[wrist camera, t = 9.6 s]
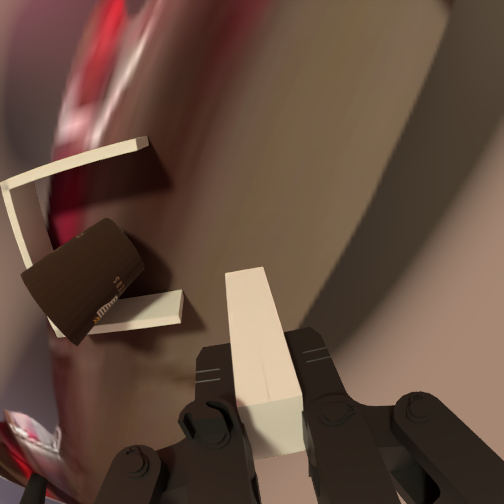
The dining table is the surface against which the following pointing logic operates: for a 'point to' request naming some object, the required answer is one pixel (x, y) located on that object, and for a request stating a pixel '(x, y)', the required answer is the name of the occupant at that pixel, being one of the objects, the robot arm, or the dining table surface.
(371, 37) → the dining table surface
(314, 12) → the dining table surface
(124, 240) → the dark brown mug
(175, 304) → the cream u-shaped bracket
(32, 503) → the drinking cup
